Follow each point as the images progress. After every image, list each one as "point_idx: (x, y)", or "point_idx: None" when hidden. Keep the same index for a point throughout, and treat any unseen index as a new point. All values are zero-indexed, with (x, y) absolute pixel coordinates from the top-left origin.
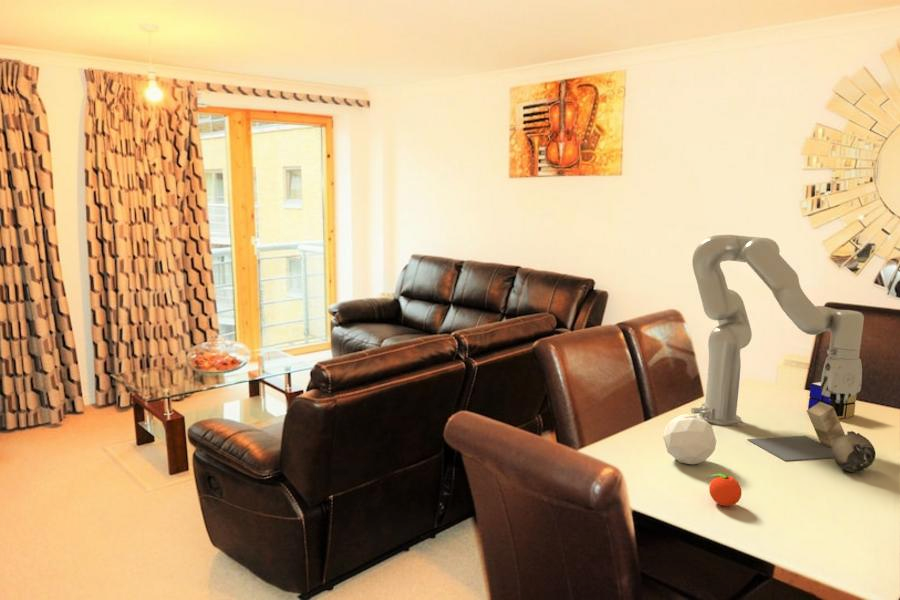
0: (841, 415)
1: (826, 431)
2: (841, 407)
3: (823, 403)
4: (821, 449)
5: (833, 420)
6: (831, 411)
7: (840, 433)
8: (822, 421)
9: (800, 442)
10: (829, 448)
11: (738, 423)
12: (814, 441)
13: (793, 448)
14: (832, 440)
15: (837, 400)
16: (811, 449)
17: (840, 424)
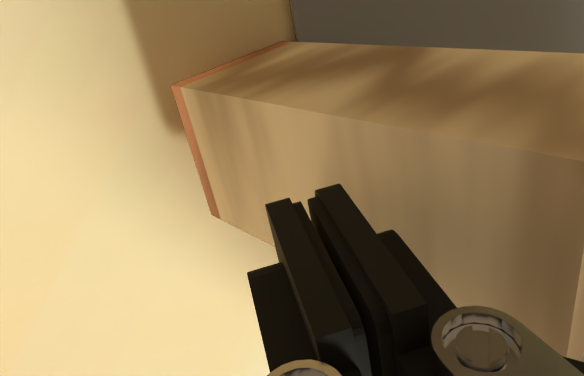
0: (289, 201)
1: (436, 47)
2: (337, 274)
3: (575, 331)
4: (390, 15)
5: (427, 94)
6: (562, 124)
7: (265, 81)
8: (573, 54)
9: None
10: (318, 42)
11: None
12: None
13: (563, 21)
14: (326, 48)
15: (509, 351)
16: (461, 9)
17: (301, 105)
